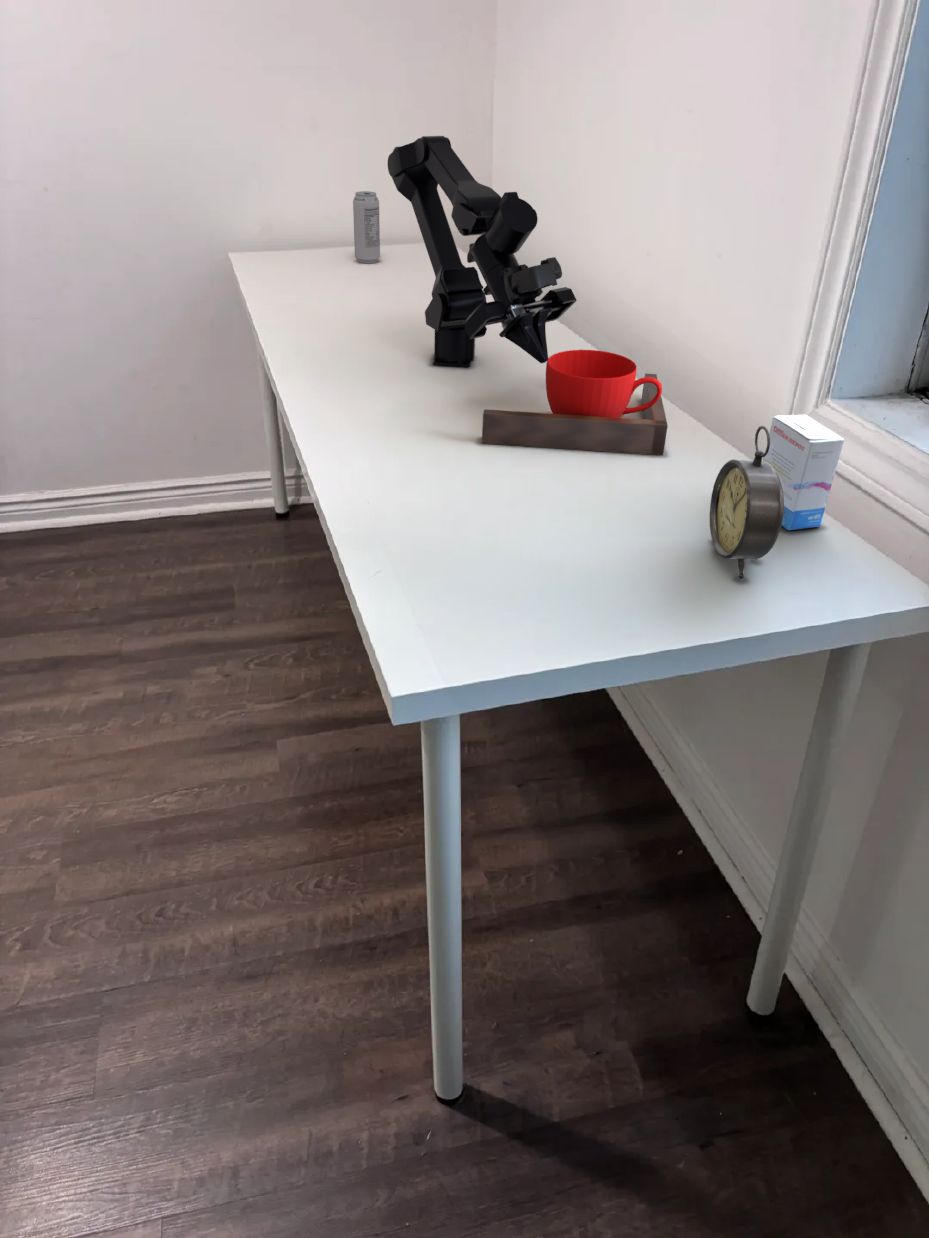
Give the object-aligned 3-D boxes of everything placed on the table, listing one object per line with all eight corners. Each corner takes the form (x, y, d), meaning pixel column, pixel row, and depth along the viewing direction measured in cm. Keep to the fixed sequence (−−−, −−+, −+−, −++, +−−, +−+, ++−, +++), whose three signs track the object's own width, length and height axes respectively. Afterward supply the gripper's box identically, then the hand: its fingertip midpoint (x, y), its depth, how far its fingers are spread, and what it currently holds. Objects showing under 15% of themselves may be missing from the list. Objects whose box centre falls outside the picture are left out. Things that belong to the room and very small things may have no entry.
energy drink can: (369, 257, 230) (368, 190, 221) (385, 261, 226) (384, 194, 218) (349, 260, 226) (347, 192, 218) (365, 265, 223) (363, 196, 214)
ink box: (823, 527, 117) (847, 437, 110) (787, 532, 116) (810, 441, 109) (784, 497, 124) (805, 411, 117) (751, 501, 122) (770, 414, 116)
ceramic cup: (651, 455, 134) (661, 386, 129) (533, 440, 137) (539, 372, 132) (658, 422, 145) (668, 357, 139) (549, 409, 148) (554, 345, 142)
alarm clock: (700, 538, 114) (725, 408, 105) (744, 537, 114) (772, 408, 105) (729, 585, 105) (759, 448, 96) (776, 584, 105) (810, 447, 96)
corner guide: (481, 443, 136) (483, 413, 133) (492, 391, 154) (493, 364, 151) (663, 455, 134) (667, 425, 132) (652, 401, 152) (656, 374, 150)
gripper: (480, 247, 133) (528, 345, 132) (574, 232, 143) (618, 323, 143) (444, 291, 143) (488, 383, 142) (534, 274, 153) (576, 360, 152)
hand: (544, 361), depth 144 cm, fingers closed
